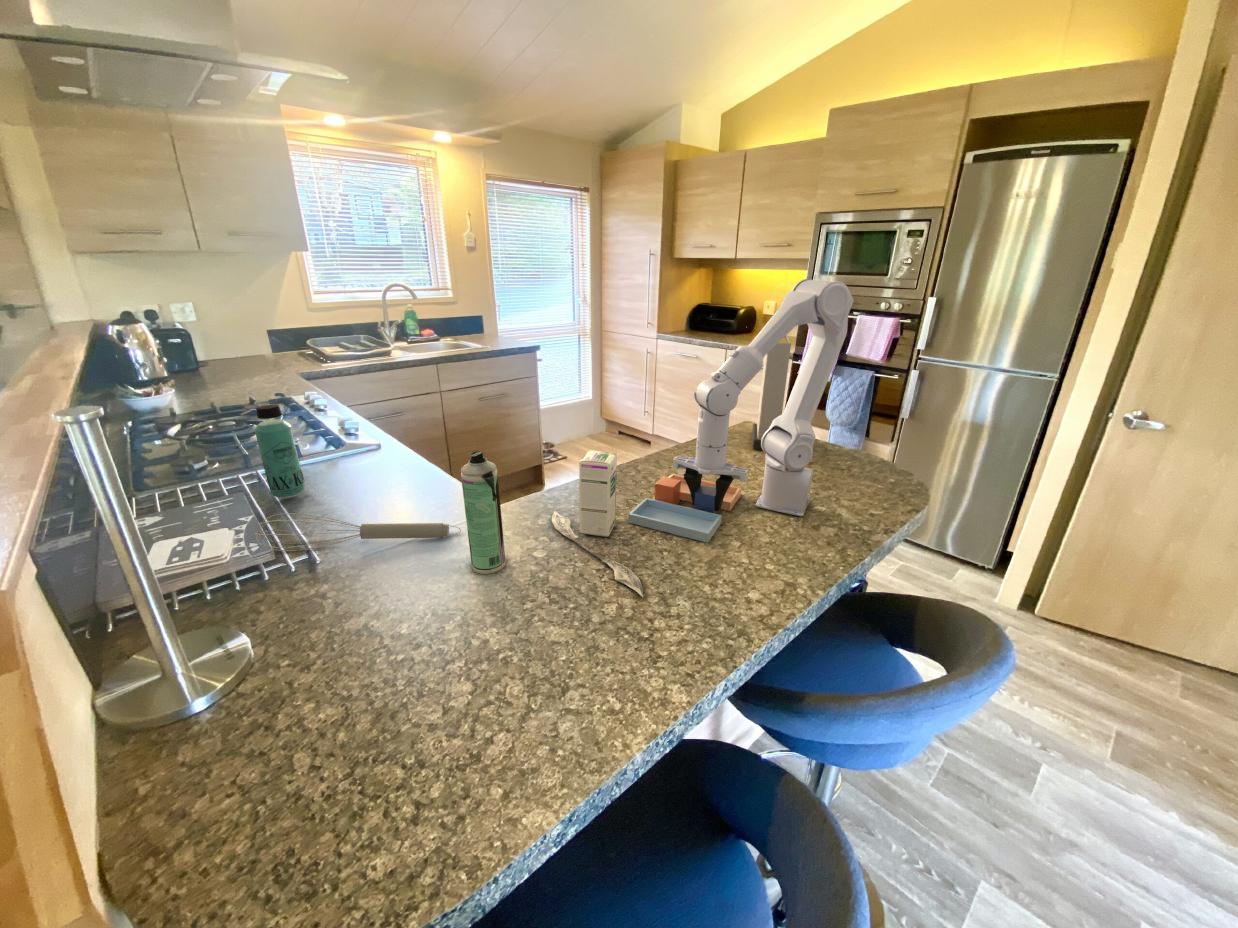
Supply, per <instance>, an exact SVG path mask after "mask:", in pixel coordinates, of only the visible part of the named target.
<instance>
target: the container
mask: <svg viewBox="0 0 1238 928" xmlns="http://www.w3.org/2000/svg"><path fill="white" fill-rule="evenodd" d="M791 348H792V343H791V340H790V338H789V335H788V334H787V335H786V336H785V337H784V338H783V339H782V340H781V341H780V342H779V343H778V344H777V345H776V346H775V347H774V348H773V349H772V350H770V351H769V352H768V353H767V354H766V355H765V356H764V358H763V367H762V370H763V371H762V377H761V378H762V379H761V387H760V394H759V395H760V396H759V404H758V414H757V423H754V424H753V425H752V449H753V450H756V451H763V450H762V447H761V440H762V437H763V435H764V434H765V432H766V431H767V430H768V429H769V428H770V426H771V424H772V422H773V420H774V419H775V418H777V417H779V416H781V415H782V414H783V409H784V402H785V395H786V394H785V393H786V386H787V381H788V380H787V379H788V373H789V372H788V371H789V363H790V356H791V350H792V349H791Z"/></svg>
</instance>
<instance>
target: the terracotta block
mask: <svg viewBox="0 0 1238 928" xmlns="http://www.w3.org/2000/svg"><path fill="white" fill-rule="evenodd" d="M680 486H681V480H676V479H672V478H668V477H666V476H662V477H661V478H659V480H658V481H656V482H655V483H654V500H658V501H662V502H667V503H671V504H675V505H679V503H680V502H681V500H680Z"/></svg>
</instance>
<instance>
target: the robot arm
mask: <svg viewBox="0 0 1238 928" xmlns="http://www.w3.org/2000/svg"><path fill="white" fill-rule="evenodd" d="M854 301H855V300H854V297H853V296H852V294H851V291H850V289H849V287H848V286H847V284H845V283H844V282H842V281H840V280H839V281H838V280H834V281H833V280H832V281H829V280H828V281H827V280H817V279H816V280H815V279H811V278H804V279H801V280H799V281H798V282H797V283H796V284H795V285H793V287H792V289H791V290H790V291H788V292H787V293H786V294H785V295H784V298H783V300H782V303H781V305H780V306H779V307H778V309H776V311H775V313H774V314H773V315H772V316H771V318H770V319H769V320H768V321H767V322H766V324H765V325H763V327H762V328H761V330H760V331H759V332H758V334H757V335H756V336H755V337H754V339H753V340H752V341H751V342H750V343H749V344H748V345H743V346H741V345H740V346H738V347H737V348H736V349H731V351H730V352H729V354H728V355H729V357H728V359H726V360H725V362H724V363H723V364H722V365H721V366H720V367H719V368H718V369H717V370H716V371H713V373H711V377H709V378H706V379H704V380H703V381H701V382H700V383H699V385H698V387H697V389H696V391H695V392H694V393H693V397H694V400H695V402H696V403H697V406H698V417H697V432H696V446H695V447H696V448H695V457H692V456H681V455H676V456H675V457H674V458H673V460H672V461H673V462H672V468H673V469H676V470H678V469H683V470H685V471H684V473H683V476H684V480H685V481H686V483H687V485H688V487H689V490H690V493H691V497H692V502H693V503H692V502H691V503H692V506H693V507H694V503H695V492H696V491H697V490H698V489H699V488H700V486H701V480H703V475H705V476H709V475H713V476H719V477H718V478H716V480H715V483H716V501H715V511H719V512H720V510H721V509H720V508H721V506H722V502H723V499H724V496H725V494H726V492H727V490H728V488H729V486H731V485H732V483H733V481H734V480H739V482H742V483H746V482H747V480H748V478H749V477H748V476H749V468H744V467H741V466H738V465H735V464H732V463H729V462H726V459H727V449H728V436H729V428H730V427H729V426H730V414H731V411H733V410H735V408H736V407H737V405H738V402H739V396H740V395H741V394H742V391H743V390H744V389H745V387H747V385H748V384H750V383H751V381H752V380H753V379H754V378H755V377H756V376H757V375H758V373H759V372H760V371H761V370H763V368H764V358H765V355H766V354H767V353H768V352H769V351H770V350H772V349H773V348H774V347H775V346H776V345H777V344H778V343H779V342H780V341H781V340H782V339H783V338H784V337H785V336H786V335H787V336H788V334H790V332H791V331H792V330H794V329H795V328H796V327H797V326H802V325H806V326H807V327H808V329H809V331H810V332H811V334H812V338H811V340H810V343H809V345H808V349H807V351H806V353H805V355H804V359H803V361H802V364H801V366H800V369H799V372H798V375H797V377H796V379H795V382H794V385H793V387H792V390H791V392H790V395H789V398H788V401H787V402H786V406H785V408H784V411H783V412H782V415H781V416H779V417H777V418H775V419H774V420H773V422H772V424H771V426H770V428H769V429H768V430H767V431H766V432H765V434H764V435H763V437H762V440H761V447H762V450H761V451H763V452H764V453H765V454H764V455H765V456H764V459H765V464H764V471H763V479H762V488H761V494H760V496H759V497H758V499H757V501H756V503H755V505H754V506H755V507H756V508H760V509H764V510H769V511H774V512H778V513H783V514H786V515H787V514H788V515H792V516H797V517H803V516H804V515H805V512H806V510H807V508H808V505H810V501H811V490H812V484H813V476H814V469H813V468H810V467H807V466H808V465H809V464H810V462H811V461H812V458H813V455H814V443H815V441H816V434H815V431H814V429H813V426H812V421H813V419H814V417H815V414H816V411H817V409H818V406H819V405H820V402H821V400H822V396H823V394H824V392H825V389H826V387H827V384H828V383H829V379H830V377H831V374H832V373H833V369H834V367H835V364H836V362H837V360H838V357H839V355H840V352H841V350H842V347H843V345H844V342H845V339H846V337H847V333H848V325H849V323H848V322H849V314H850V311H851V309H852V307H853V304H854Z"/></svg>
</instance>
